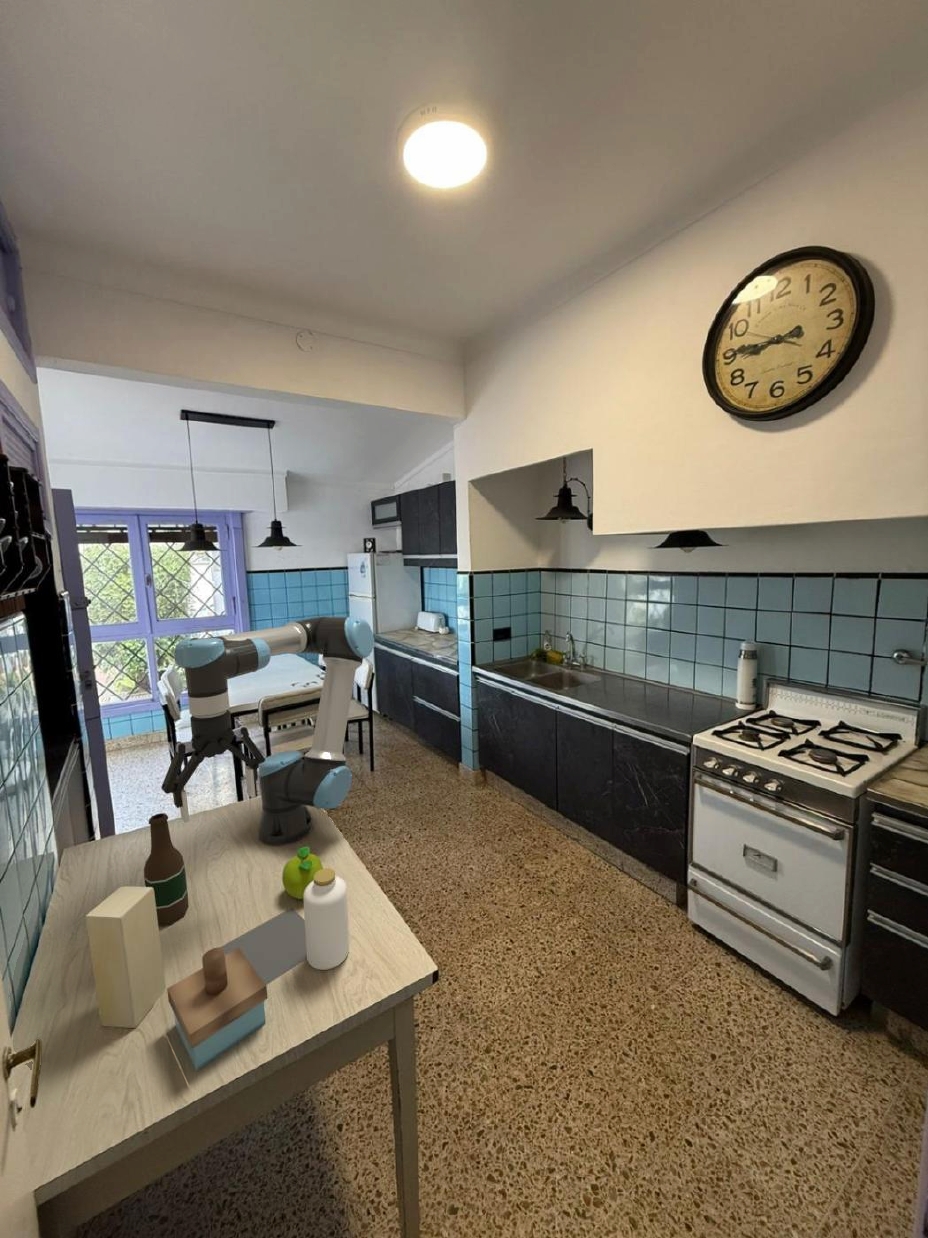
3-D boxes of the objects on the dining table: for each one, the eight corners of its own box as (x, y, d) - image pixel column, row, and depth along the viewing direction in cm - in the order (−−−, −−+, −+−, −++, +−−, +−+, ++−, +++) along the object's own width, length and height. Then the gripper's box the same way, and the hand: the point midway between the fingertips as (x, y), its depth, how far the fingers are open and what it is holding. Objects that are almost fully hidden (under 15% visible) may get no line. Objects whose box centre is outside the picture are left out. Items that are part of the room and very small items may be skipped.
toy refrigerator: (131, 986, 94) (117, 885, 91) (167, 989, 93) (154, 886, 90) (96, 1026, 86) (80, 916, 83) (135, 1029, 85) (120, 918, 83)
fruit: (323, 877, 124) (320, 840, 123) (325, 902, 115) (322, 862, 114) (284, 886, 121) (281, 848, 120) (283, 912, 113) (279, 871, 111)
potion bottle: (357, 955, 100) (354, 875, 97) (320, 981, 94) (316, 896, 91) (335, 932, 106) (332, 855, 103) (299, 955, 100) (294, 875, 97)
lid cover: (240, 959, 93) (235, 918, 92) (267, 998, 85) (263, 954, 84) (168, 1001, 85) (163, 957, 84) (191, 1049, 77) (185, 1000, 75)
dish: (240, 986, 93) (238, 963, 93) (265, 1024, 86) (263, 998, 85) (175, 1027, 86) (172, 1001, 85) (197, 1073, 78) (193, 1045, 77)
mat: (292, 908, 114) (292, 907, 114) (328, 946, 103) (328, 944, 102) (218, 949, 102) (218, 948, 102) (250, 996, 91) (250, 994, 91)
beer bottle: (171, 930, 108) (159, 827, 105) (141, 925, 110) (128, 824, 106) (197, 905, 116) (186, 808, 112) (168, 901, 117) (157, 806, 114)
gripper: (261, 695, 116) (268, 781, 119) (136, 724, 98) (148, 824, 101) (275, 702, 110) (283, 791, 113) (146, 733, 93) (159, 838, 96)
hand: (219, 807), depth 107 cm, fingers open, 13 cm apart
